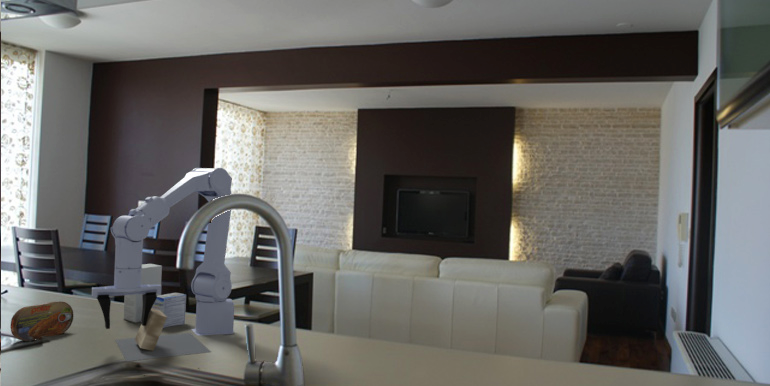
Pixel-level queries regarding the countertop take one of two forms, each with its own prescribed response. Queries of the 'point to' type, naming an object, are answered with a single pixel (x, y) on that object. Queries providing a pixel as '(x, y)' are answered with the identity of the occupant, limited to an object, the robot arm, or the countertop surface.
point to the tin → (41, 320)
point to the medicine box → (172, 308)
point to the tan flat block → (151, 330)
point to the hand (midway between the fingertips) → (125, 326)
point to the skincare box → (134, 302)
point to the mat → (162, 347)
